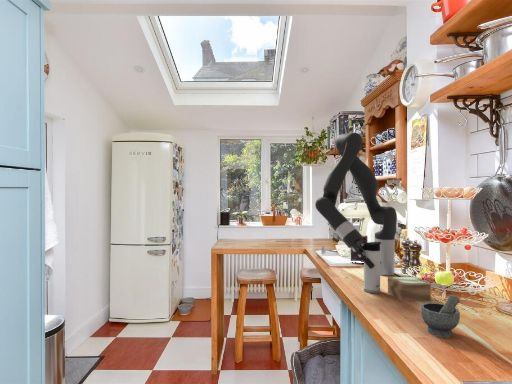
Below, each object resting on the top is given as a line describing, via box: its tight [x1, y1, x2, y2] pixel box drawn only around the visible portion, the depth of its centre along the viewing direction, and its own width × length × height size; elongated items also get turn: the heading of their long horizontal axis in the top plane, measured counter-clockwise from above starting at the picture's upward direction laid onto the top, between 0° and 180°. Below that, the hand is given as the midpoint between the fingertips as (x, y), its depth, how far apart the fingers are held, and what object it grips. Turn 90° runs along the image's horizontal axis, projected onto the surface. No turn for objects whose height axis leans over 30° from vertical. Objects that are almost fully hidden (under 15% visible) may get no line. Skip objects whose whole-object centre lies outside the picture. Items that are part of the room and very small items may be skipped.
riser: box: [387, 276, 432, 302], centre depth 127 cm, size 11×11×6 cm
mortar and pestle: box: [420, 294, 461, 338], centre depth 93 cm, size 11×9×12 cm
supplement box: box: [350, 234, 369, 262], centre depth 189 cm, size 9×5×16 cm, turn 58°
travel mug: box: [363, 241, 381, 294], centre depth 134 cm, size 6×7×20 cm
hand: (376, 266), depth 133 cm, fingers open, 6 cm apart
